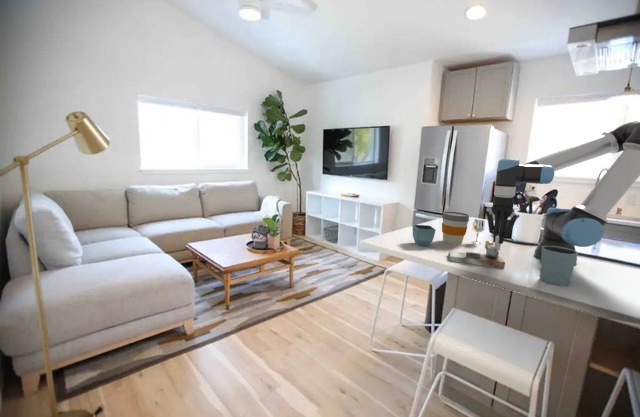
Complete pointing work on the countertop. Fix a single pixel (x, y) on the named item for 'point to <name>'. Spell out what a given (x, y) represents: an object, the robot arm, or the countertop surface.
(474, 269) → the countertop surface
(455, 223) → the reusable coffee cup
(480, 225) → the wineglass
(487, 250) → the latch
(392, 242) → the countertop surface
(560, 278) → the grey green cup
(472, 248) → the countertop surface
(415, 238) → the flower pot
